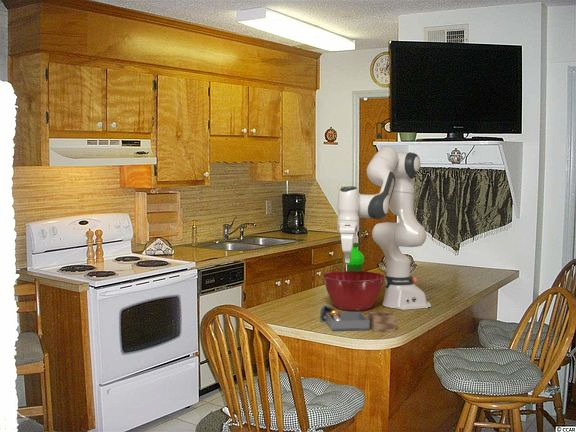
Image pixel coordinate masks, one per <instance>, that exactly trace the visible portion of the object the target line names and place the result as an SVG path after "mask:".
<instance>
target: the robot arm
mask: <svg viewBox="0 0 576 432" xmlns="http://www.w3.org/2000/svg"><path fill="white" fill-rule="evenodd" d="M420 170H421V158H420V156H419V155H418V154H417V153H415V152H401V151H399V152H397V151H396V149H394V148H392V147H391V146H383V147H382V148H380V149H379V150H378V151H377V152H376V153H375V154H374V155H373V157H372V158H371V160H370V161H369V163H368V164H367V167H366V177H367V178H368V180H369V181H370V182H371V183H372V184H374V185H376V186H379V187H380V191H379V193H375V194H363V193H362V194H361V193H360V192H359V189H358V187H357V186H344V187H340V189H339V191H338V195H337V213H338V214H337V218H336V219H337V220H336V221H337V223H336V225H337V226H336V231H337V232H339V234H340V243H341V251H342V252H343V253H344V263H345V262H346V263H349V262H350V258H351V252H352V248H353V243H354V237H355V236H356V235H357V232H359V231H360V218H365V219H374V220H378V221H379V220H382V219H384V218H385V217H386V216H387V215H388V214H389V210H390V212H391V213H392V214H393V215H395V216H396V217H397V216H398V219H399V222H388V221H387V222H379V223H376V224H375V225H374V226H373V228H372V231H371V236H372V239H373V242H374V243H375V244H376V245H378V246H379V247H380V250H382V253H383V254H384V255H383V256H384V259H385V274H384V276H385V278H384V289H385V290H384V295H383V301H382V304H381V305H382V306H384V307H385V308H389V309H390V308H391V309H398V310H401V311H402V310H404V311H405V310H417V309H429V308H428V307H430V308H432V304H431V303H430V302H429V301H427V296H426V293H425V292H424V291H423V290H422V289H421V288H419V287H418V286H417V285H416V284H415V283H417V282H418V278H417V277H413V276H411V259H410V258H409V256H407V255H406V254H404V253H402V251H401V250H400V248H401V247H405V248H416V247H421V246H423V245H424V243H426V240H427V231H426V229H425V227H424V226H423V225H422V224H421V223H420V222H419V221H418V220H417V218H416V215H415V210H414V199H415V180H414V179H415V176H417V174H418V173H419V172H420ZM346 263H345V264H346Z"/></svg>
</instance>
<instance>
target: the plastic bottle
mask: <svg viewBox="0 0 576 432" xmlns="http://www.w3.org/2000/svg"><path fill="white" fill-rule="evenodd" d="M359 244H360V243H359V242H353V248H352V252H351V258H350V262H349V263H346V262H345V261H344V263H345V265H346V271H363V264H364V262H365V255H364V254H363V253H362V252H361V251H360V250H359V246H360V245H359Z"/></svg>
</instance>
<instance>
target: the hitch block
mask: <svg viewBox="0 0 576 432" xmlns="http://www.w3.org/2000/svg"><path fill="white" fill-rule="evenodd" d="M367 314H368V315H367V318H368V319H369V320H370V328H369V330H371V331H372V332H373V333H390V332H391V333H392V332H393V333H394V332H395V333H396V332H397V316H396V315H395V314H393V312H391V311H368V313H367Z"/></svg>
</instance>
